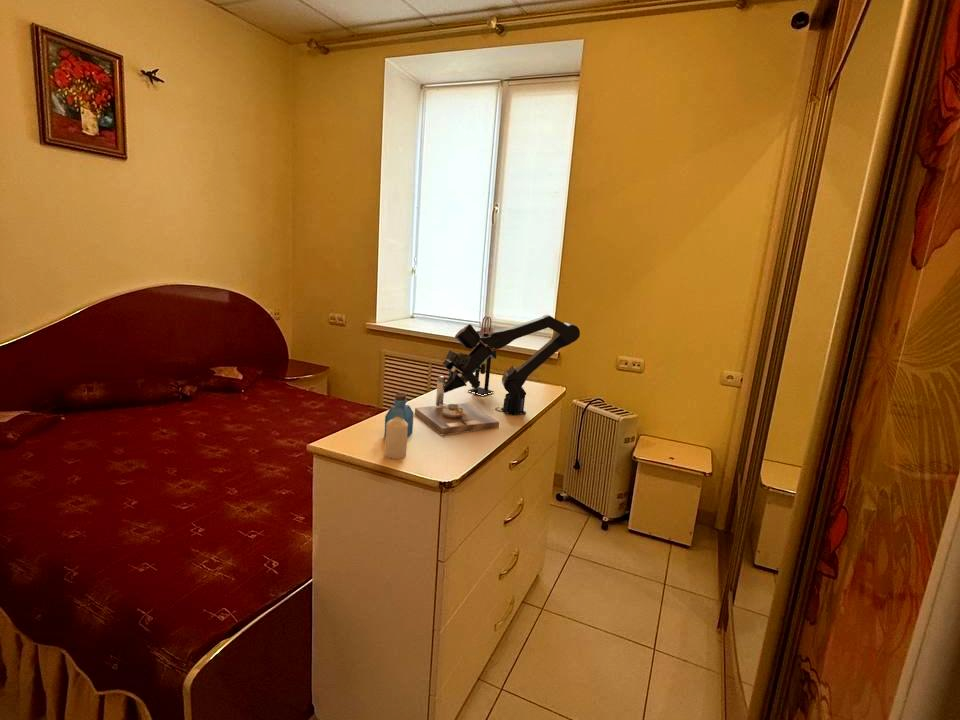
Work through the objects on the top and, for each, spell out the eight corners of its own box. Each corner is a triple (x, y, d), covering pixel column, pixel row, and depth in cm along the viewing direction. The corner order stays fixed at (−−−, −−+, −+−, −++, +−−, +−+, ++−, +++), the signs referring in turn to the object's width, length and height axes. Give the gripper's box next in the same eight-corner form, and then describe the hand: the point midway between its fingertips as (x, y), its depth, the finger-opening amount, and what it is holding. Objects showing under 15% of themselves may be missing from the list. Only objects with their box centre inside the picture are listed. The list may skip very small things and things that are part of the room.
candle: (385, 450, 131) (387, 414, 129) (406, 451, 132) (408, 415, 130) (383, 458, 126) (385, 421, 124) (405, 459, 126) (407, 422, 124)
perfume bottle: (405, 440, 139) (407, 399, 137) (384, 437, 140) (386, 396, 138) (412, 433, 145) (414, 393, 143) (392, 429, 146) (394, 390, 144)
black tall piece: (479, 397, 187) (487, 318, 181) (465, 392, 192) (471, 315, 185) (496, 392, 195) (503, 317, 189) (481, 388, 200) (488, 314, 193)
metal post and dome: (445, 404, 167) (448, 374, 165) (474, 422, 152) (477, 389, 150) (428, 406, 163) (430, 375, 161) (456, 424, 148) (458, 391, 146)
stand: (467, 408, 172) (468, 401, 172) (498, 427, 156) (499, 420, 155) (414, 413, 162) (415, 406, 162) (441, 434, 146) (442, 426, 145)
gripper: (449, 336, 171) (417, 368, 168) (475, 349, 155) (440, 384, 152) (468, 358, 176) (437, 389, 174) (494, 372, 161) (461, 406, 158)
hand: (443, 391), depth 164 cm, fingers closed, pressing on metal post and dome
